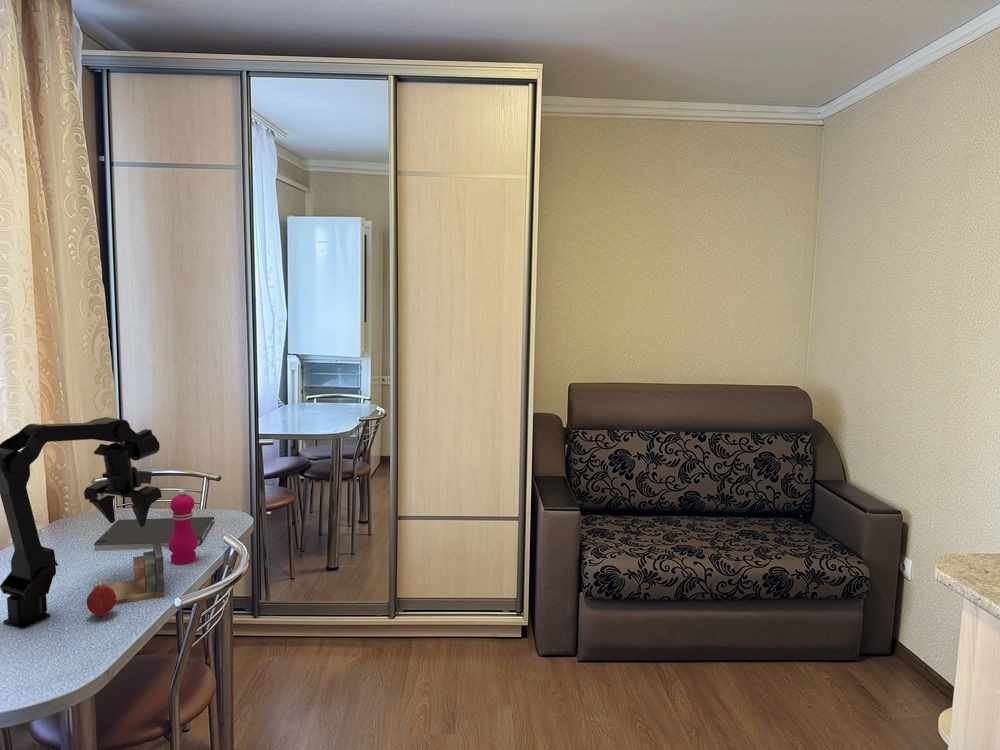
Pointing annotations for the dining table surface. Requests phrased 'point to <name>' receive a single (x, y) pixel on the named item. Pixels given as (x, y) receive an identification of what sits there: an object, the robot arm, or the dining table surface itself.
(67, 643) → the dining table surface
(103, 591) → the pomegranate
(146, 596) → the book shelf
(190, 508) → the pepper mill
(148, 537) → the notebook
